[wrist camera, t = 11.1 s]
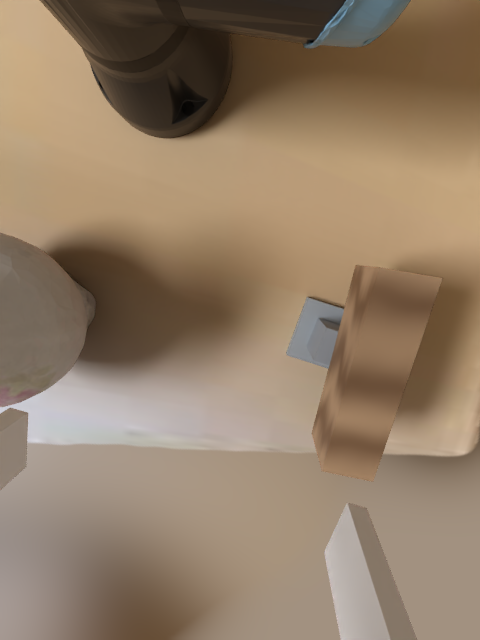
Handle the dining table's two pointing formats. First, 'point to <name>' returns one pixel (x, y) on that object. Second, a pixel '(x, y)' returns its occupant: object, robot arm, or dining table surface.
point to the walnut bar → (371, 367)
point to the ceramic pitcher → (37, 320)
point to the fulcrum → (316, 332)
